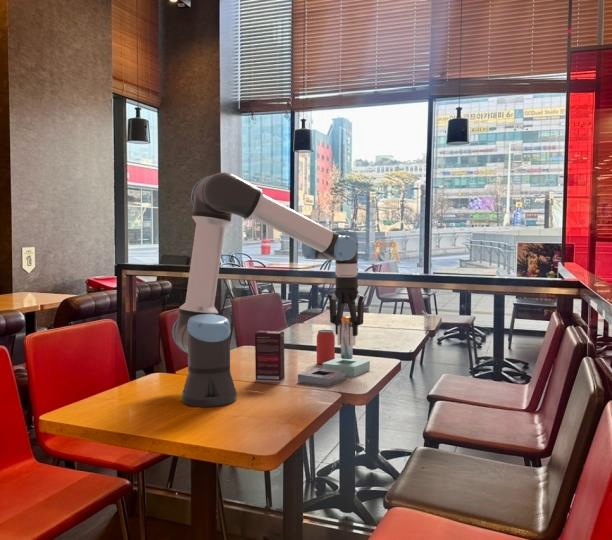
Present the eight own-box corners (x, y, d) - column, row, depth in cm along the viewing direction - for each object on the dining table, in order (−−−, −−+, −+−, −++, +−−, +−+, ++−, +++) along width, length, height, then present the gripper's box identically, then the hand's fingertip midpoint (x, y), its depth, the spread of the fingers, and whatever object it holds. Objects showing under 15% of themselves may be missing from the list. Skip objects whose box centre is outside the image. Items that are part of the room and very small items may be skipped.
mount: (328, 388, 176) (328, 378, 176) (297, 383, 182) (297, 374, 182) (345, 381, 186) (345, 371, 186) (315, 376, 192) (315, 367, 191)
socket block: (354, 377, 190) (354, 367, 190) (322, 373, 196) (322, 363, 196) (369, 370, 201) (369, 360, 200) (338, 367, 207) (338, 357, 207)
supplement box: (285, 380, 187) (284, 331, 186) (280, 383, 182) (280, 333, 182) (259, 378, 189) (259, 330, 188) (254, 382, 184) (254, 332, 184)
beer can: (337, 362, 214) (338, 330, 213) (328, 366, 208) (329, 332, 208) (322, 361, 217) (322, 329, 217) (313, 364, 212) (313, 331, 211)
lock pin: (349, 359, 196) (349, 318, 195) (338, 358, 198) (338, 317, 197) (354, 357, 199) (354, 316, 198) (344, 356, 201) (344, 316, 201)
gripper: (374, 276, 196) (374, 345, 197) (329, 274, 205) (329, 341, 206) (364, 277, 189) (364, 348, 191) (319, 276, 198) (319, 344, 199)
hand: (346, 344), depth 198 cm, fingers closed on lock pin, 4 cm apart
